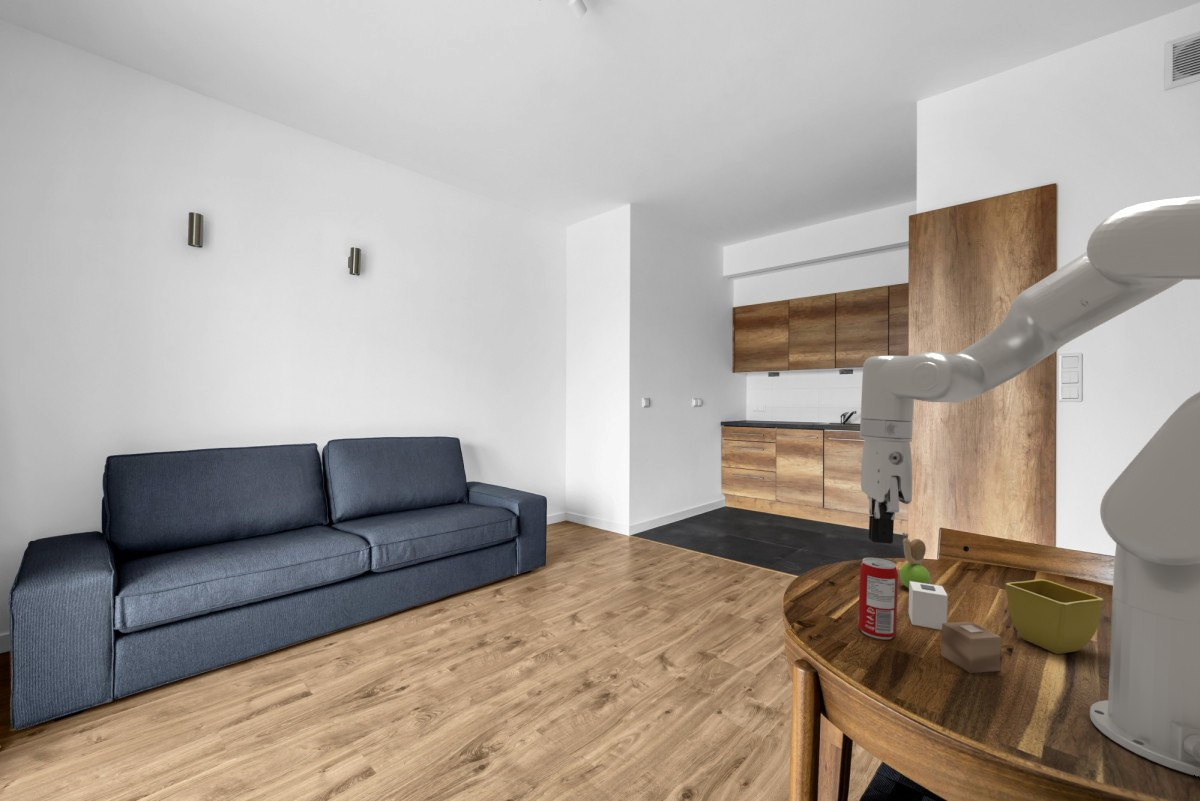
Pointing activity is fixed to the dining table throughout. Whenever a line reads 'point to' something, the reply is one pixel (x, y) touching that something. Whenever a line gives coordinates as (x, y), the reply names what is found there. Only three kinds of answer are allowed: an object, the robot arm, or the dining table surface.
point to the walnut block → (971, 647)
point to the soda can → (878, 598)
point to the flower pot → (1053, 614)
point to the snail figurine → (914, 562)
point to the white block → (927, 605)
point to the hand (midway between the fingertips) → (880, 541)
